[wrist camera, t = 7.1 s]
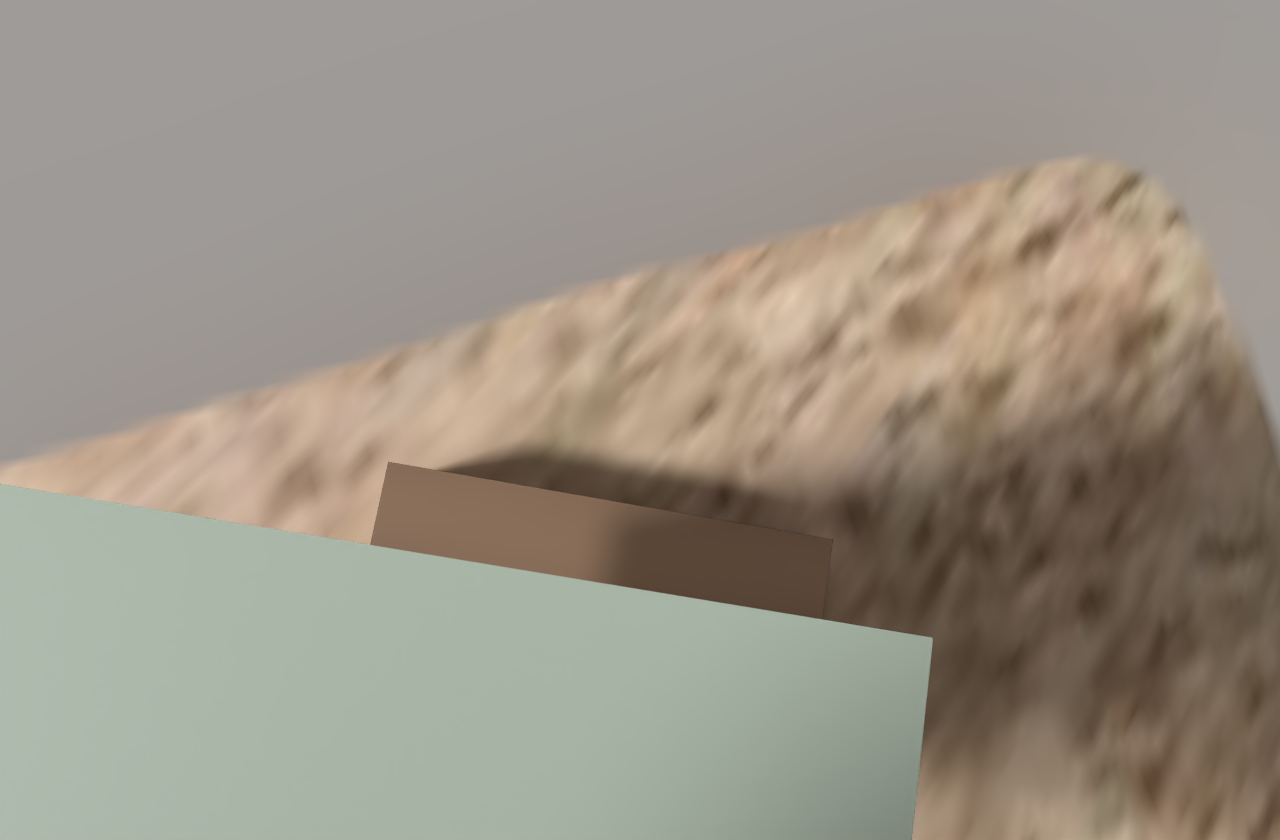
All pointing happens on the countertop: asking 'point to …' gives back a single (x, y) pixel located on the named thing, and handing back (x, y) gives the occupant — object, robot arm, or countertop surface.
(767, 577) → the walnut base block
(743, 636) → the sage pillar block
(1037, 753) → the countertop surface
